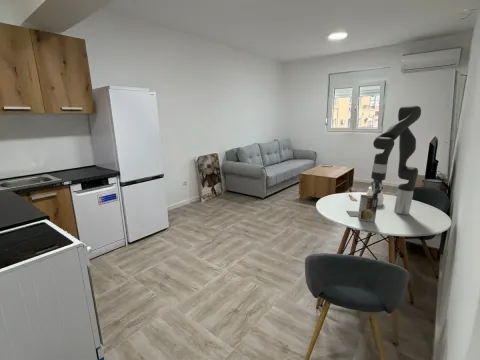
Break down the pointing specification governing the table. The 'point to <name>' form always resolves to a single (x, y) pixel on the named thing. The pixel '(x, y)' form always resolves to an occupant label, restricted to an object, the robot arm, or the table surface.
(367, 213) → the coffee box
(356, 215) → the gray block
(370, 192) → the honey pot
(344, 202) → the table surface
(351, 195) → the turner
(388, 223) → the table surface
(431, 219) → the table surface
